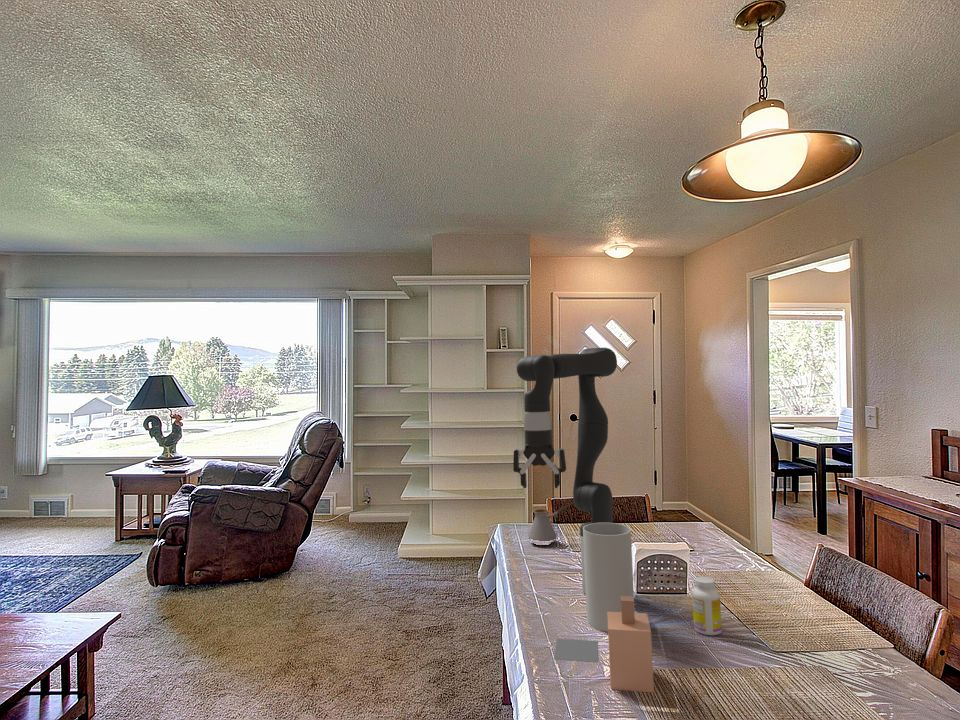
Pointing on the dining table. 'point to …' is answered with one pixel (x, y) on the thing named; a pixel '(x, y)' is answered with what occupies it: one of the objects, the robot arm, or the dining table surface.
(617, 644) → the orange square bottle
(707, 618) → the supplement bottle
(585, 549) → the cylinder vase
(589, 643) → the mat
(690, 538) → the dining table surface
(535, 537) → the coffee pot
